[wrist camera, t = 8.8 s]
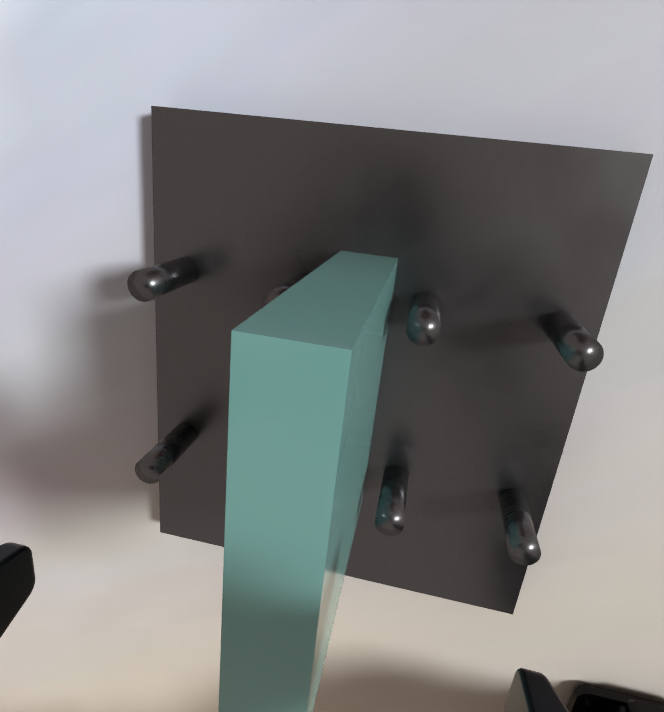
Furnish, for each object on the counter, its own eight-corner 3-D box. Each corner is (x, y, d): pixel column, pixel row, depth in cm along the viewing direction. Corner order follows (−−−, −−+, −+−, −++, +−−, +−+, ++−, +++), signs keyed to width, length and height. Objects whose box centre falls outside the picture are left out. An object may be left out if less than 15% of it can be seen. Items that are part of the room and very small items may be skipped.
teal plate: (362, 500, 21) (300, 762, 11) (315, 490, 21) (217, 737, 12) (398, 258, 17) (351, 350, 8) (341, 250, 17) (231, 330, 8)
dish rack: (509, 596, 22) (524, 680, 18) (170, 518, 24) (123, 579, 21) (640, 155, 16) (703, 148, 12) (166, 109, 18) (95, 91, 14)
